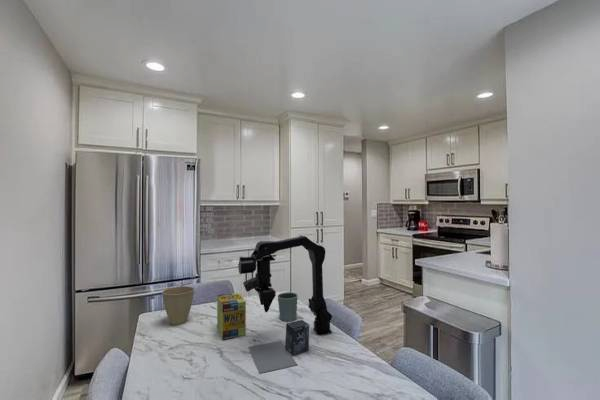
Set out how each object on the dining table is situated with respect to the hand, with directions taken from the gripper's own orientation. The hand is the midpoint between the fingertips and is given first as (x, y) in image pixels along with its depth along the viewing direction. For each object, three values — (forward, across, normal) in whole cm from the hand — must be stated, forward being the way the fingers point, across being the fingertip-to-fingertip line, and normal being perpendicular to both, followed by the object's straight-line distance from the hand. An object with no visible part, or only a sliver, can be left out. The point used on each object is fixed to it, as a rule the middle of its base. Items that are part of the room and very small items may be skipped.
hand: (264, 308), depth 122 cm
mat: (+14, +12, 0) cm, 18 cm away
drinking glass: (+15, -21, +16) cm, 31 cm away
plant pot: (+14, -36, -37) cm, 53 cm away
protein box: (+15, -16, -13) cm, 25 cm away
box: (+14, +11, +11) cm, 21 cm away
